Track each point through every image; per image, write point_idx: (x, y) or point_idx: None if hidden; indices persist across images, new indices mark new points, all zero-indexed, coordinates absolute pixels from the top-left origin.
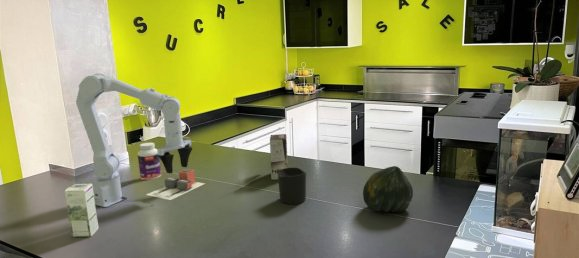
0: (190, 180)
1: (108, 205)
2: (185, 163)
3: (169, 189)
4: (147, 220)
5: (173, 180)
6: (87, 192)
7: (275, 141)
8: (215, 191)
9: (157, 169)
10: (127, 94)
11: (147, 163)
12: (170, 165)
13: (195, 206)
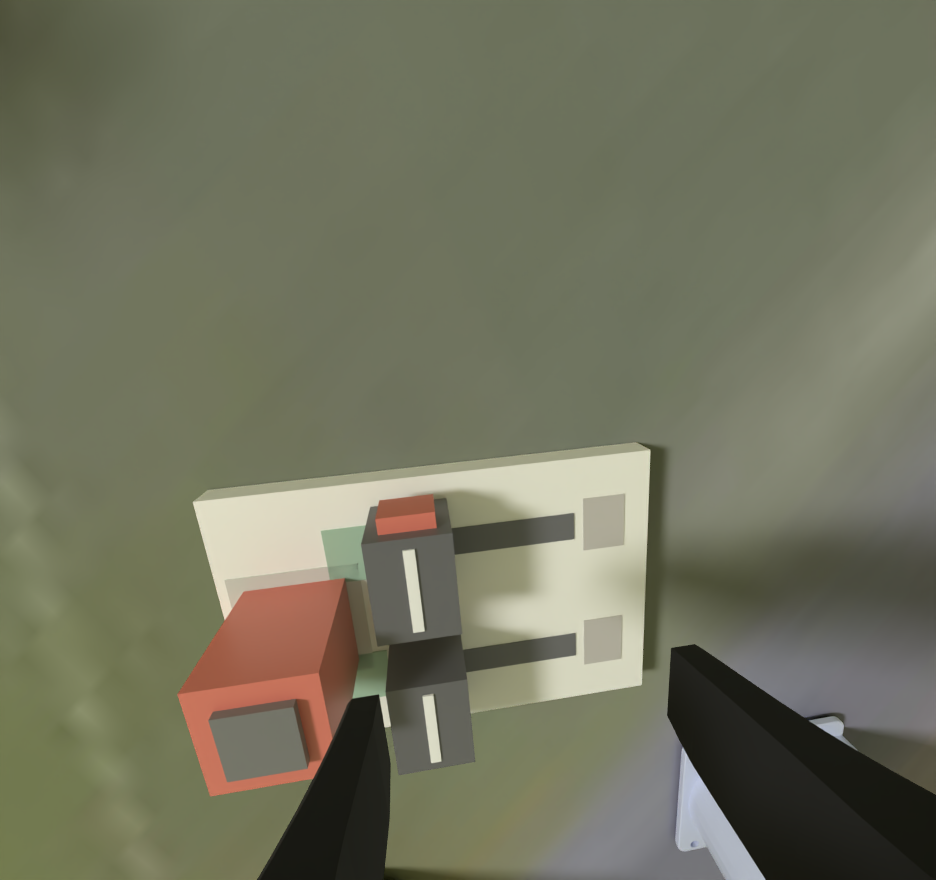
0: (296, 609)
1: (825, 721)
2: (371, 761)
3: (483, 638)
4: (927, 336)
5: (454, 683)
6: None
7: None
8: (235, 309)
9: None
10: None
11: None
12: (835, 743)
13: (605, 201)
